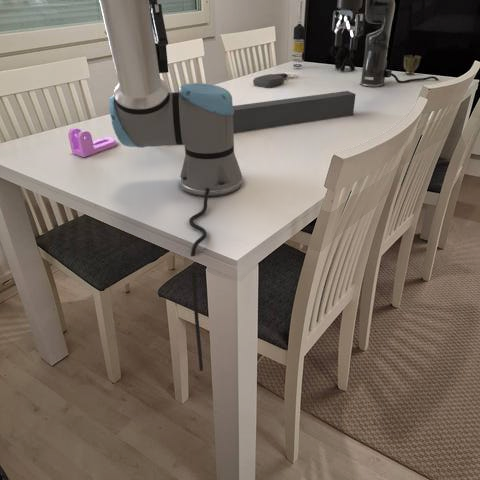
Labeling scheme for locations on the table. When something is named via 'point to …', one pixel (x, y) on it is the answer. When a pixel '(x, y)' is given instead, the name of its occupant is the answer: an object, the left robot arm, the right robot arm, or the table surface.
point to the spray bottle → (272, 79)
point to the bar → (292, 111)
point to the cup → (411, 63)
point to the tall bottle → (298, 39)
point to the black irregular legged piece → (343, 57)
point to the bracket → (88, 143)
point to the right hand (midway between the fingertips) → (345, 47)
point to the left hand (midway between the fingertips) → (157, 68)
